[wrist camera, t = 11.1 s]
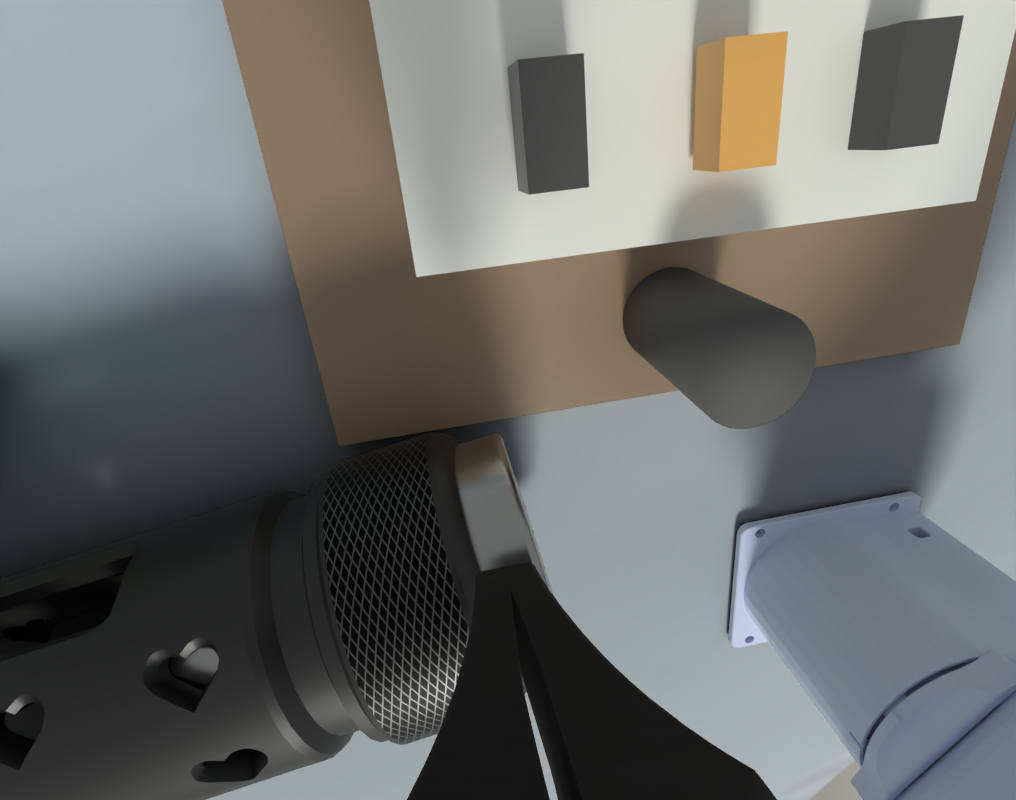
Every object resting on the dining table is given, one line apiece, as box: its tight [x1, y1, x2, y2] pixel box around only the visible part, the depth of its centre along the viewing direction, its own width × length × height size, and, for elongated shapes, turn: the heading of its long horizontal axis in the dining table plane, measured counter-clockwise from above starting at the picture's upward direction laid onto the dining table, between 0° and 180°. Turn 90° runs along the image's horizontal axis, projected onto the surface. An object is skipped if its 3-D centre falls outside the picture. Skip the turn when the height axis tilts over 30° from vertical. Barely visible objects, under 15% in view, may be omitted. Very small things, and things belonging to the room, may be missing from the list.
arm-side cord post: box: [623, 267, 816, 429], centre depth 19 cm, size 4×4×6 cm
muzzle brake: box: [0, 432, 553, 800], centre depth 20 cm, size 10×28×10 cm
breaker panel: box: [222, 0, 1016, 446], centre depth 17 cm, size 26×20×6 cm
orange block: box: [693, 31, 788, 172], centre depth 15 cm, size 2×3×2 cm, turn 6°
